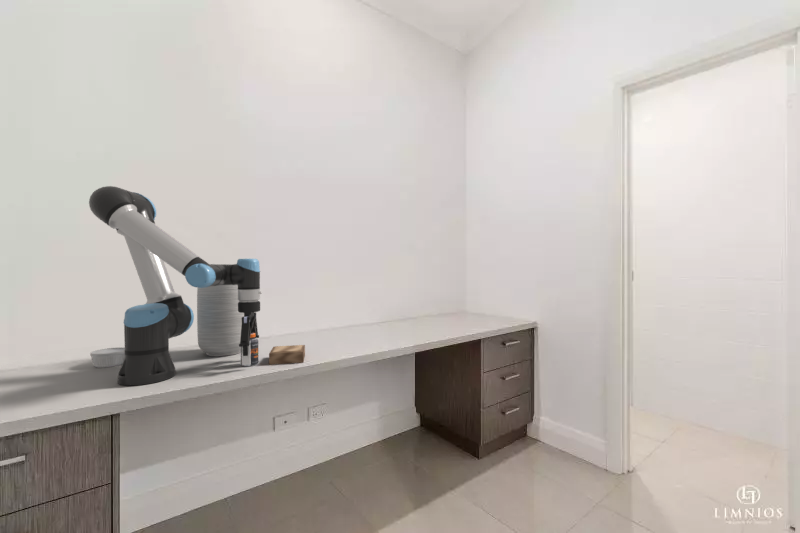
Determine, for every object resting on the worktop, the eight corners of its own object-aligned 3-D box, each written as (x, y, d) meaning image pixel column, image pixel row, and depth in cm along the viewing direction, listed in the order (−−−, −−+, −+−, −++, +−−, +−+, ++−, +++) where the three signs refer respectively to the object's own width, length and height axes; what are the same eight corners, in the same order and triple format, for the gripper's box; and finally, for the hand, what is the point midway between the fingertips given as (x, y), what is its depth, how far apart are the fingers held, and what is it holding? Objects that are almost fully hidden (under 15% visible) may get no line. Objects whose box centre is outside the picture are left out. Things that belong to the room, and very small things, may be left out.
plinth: (269, 364, 132) (269, 352, 132) (273, 356, 144) (273, 345, 144) (303, 362, 135) (303, 351, 135) (305, 354, 147) (304, 344, 147)
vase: (246, 345, 167) (245, 271, 167) (255, 353, 150) (255, 271, 150) (195, 351, 156) (194, 272, 156) (199, 361, 139) (198, 272, 139)
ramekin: (134, 359, 142) (133, 346, 142) (122, 367, 132) (121, 352, 132) (99, 362, 139) (99, 348, 139) (84, 370, 128) (84, 355, 128)
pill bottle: (252, 367, 130) (251, 335, 130) (237, 366, 131) (237, 334, 131) (261, 362, 135) (261, 332, 135) (247, 362, 137) (247, 331, 137)
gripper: (253, 303, 122) (254, 368, 122) (265, 297, 146) (266, 351, 146) (229, 304, 120) (230, 369, 120) (245, 298, 144) (245, 352, 144)
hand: (249, 360), depth 133 cm, fingers open, 12 cm apart
